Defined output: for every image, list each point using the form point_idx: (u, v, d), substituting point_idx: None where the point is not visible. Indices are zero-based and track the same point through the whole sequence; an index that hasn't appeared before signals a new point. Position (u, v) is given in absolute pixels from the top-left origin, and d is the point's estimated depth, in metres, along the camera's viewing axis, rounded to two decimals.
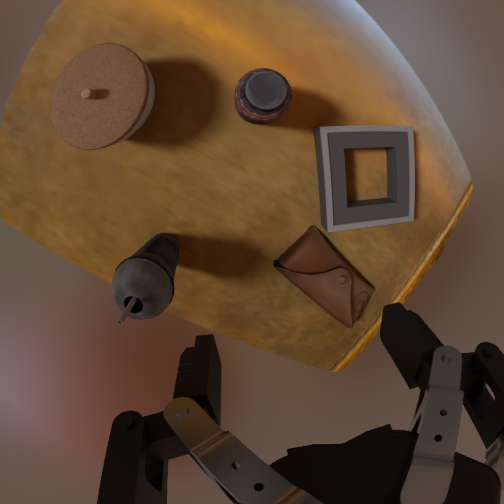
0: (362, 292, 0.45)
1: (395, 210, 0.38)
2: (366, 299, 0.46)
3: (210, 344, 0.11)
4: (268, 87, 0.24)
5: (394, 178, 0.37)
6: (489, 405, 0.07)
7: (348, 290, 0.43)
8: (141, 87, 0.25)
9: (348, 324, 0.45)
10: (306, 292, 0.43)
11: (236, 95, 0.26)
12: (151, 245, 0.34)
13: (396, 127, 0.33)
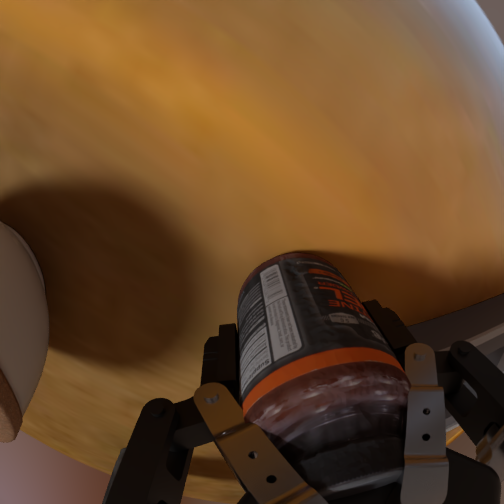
0: None
1: None
2: None
3: (234, 332, 0.12)
4: None
5: None
6: (470, 401, 0.08)
7: None
8: None
9: None
10: None
11: None
12: None
13: None
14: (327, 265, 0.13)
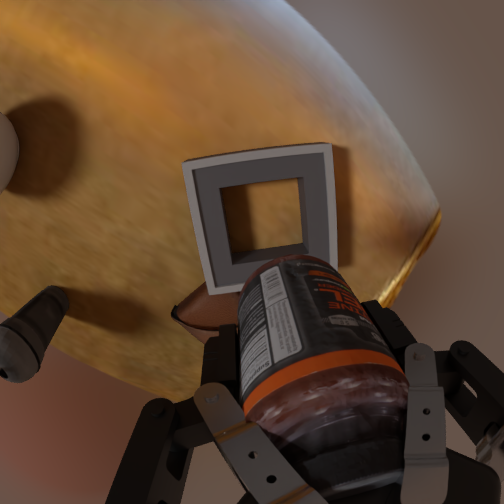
0: None
1: None
2: None
3: (234, 332, 0.12)
4: None
5: (305, 220, 0.29)
6: (470, 401, 0.08)
7: None
8: None
9: None
10: None
11: None
12: (27, 306, 0.27)
13: (302, 148, 0.25)
14: (327, 267, 0.13)
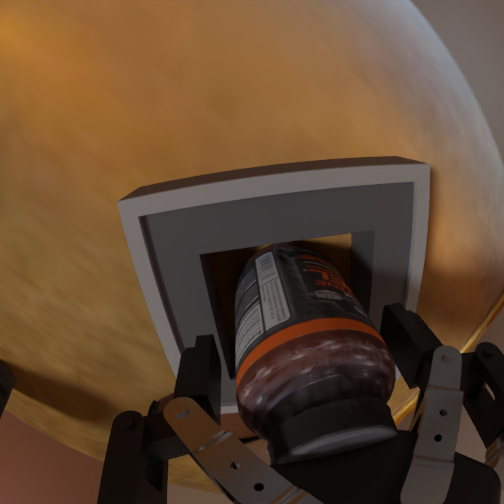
0: None
1: None
2: None
3: (210, 344, 0.11)
4: None
5: (364, 304, 0.15)
6: (489, 405, 0.07)
7: None
8: None
9: None
10: None
11: (241, 415, 0.09)
12: None
13: (378, 171, 0.11)
14: (317, 252, 0.15)
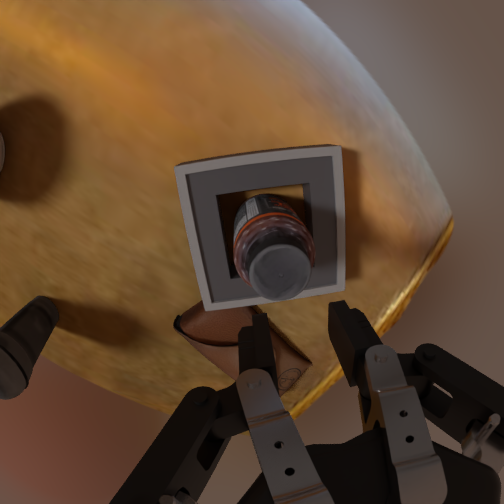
0: (291, 369, 0.34)
1: (312, 277, 0.28)
2: (297, 376, 0.35)
3: (267, 321, 0.12)
4: (284, 271, 0.18)
5: (311, 230, 0.27)
6: (443, 401, 0.08)
7: None
8: None
9: None
10: (212, 362, 0.32)
11: (235, 262, 0.20)
12: (14, 318, 0.24)
13: (308, 151, 0.23)
14: (280, 198, 0.26)
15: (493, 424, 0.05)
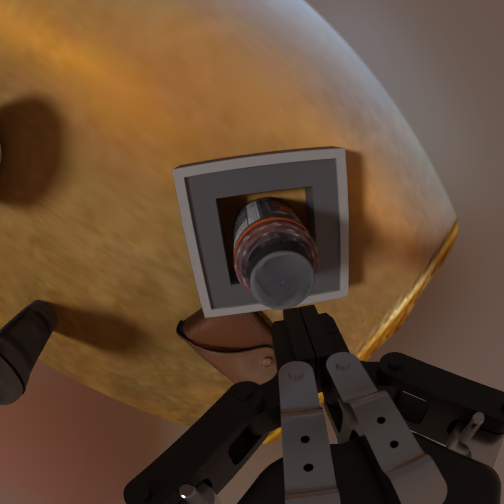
0: None
1: (315, 283, 0.27)
2: None
3: (300, 315, 0.12)
4: (286, 279, 0.17)
5: (313, 235, 0.26)
6: (416, 405, 0.09)
7: (274, 374, 0.31)
8: None
9: None
10: (216, 368, 0.31)
11: (236, 268, 0.20)
12: (11, 323, 0.23)
13: (311, 153, 0.22)
14: (282, 202, 0.25)
15: (478, 423, 0.05)
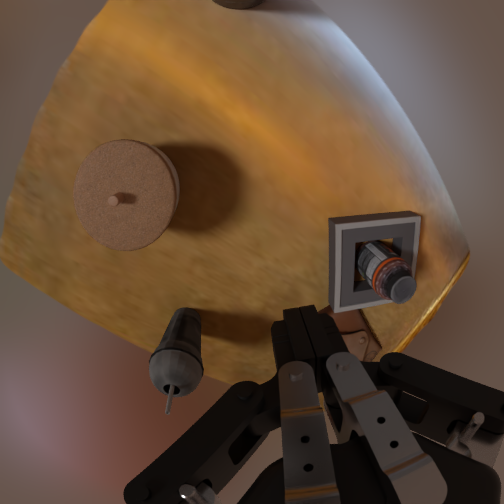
0: (372, 351, 0.49)
1: None
2: (373, 357, 0.50)
3: (300, 315, 0.12)
4: (405, 289, 0.33)
5: None
6: (416, 405, 0.09)
7: (364, 349, 0.47)
8: (169, 197, 0.29)
9: None
10: None
11: (377, 283, 0.35)
12: (179, 328, 0.39)
13: (405, 219, 0.38)
14: (383, 244, 0.41)
15: (478, 423, 0.05)
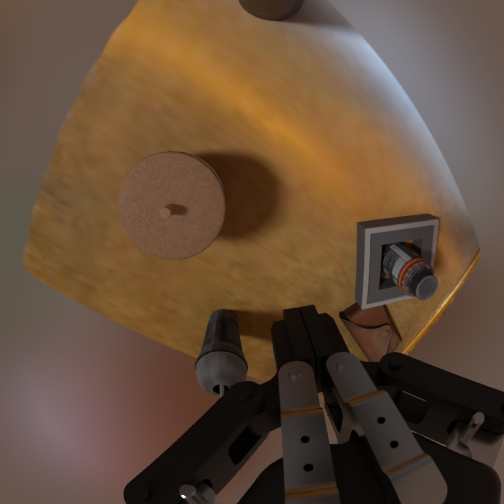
0: (394, 343, 0.52)
1: None
2: (395, 348, 0.53)
3: (300, 315, 0.12)
4: (428, 287, 0.35)
5: None
6: (416, 405, 0.09)
7: (387, 342, 0.49)
8: (220, 208, 0.32)
9: None
10: (358, 340, 0.49)
11: (403, 282, 0.38)
12: (221, 330, 0.41)
13: (425, 222, 0.40)
14: (405, 245, 0.43)
15: (478, 423, 0.05)
